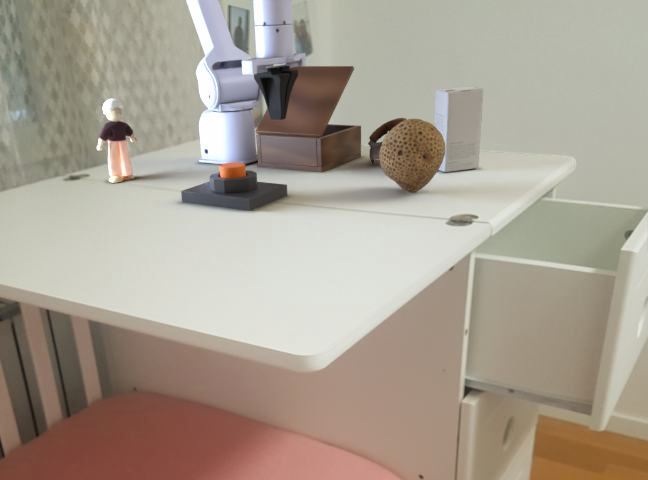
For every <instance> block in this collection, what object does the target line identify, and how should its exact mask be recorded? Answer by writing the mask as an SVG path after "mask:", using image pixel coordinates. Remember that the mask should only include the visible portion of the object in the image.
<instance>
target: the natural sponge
mask: <svg viewBox="0 0 648 480" xmlns="http://www.w3.org/2000/svg"><path fill="white" fill-rule="evenodd" d="M382 141H383V142H382ZM382 141H381V142H382V146H381V148H380V159H379V164H380V167H381V170H382V172H383V173H384V175H385V176H387V177H388V178H389V179H390V180H391V181H393V182H395V184H396V185H397V186H398V187H400V188H401V189H402V190H403V191H405V192H408V193H415V192H418V191H420V190H422V189H423V188H425V187H426V186H427V185H428V184H429V183H430V182H431V181H432V179H433V178H434V177H435V176H436V174H437V173H438V171H440V170H439V168H440V166H441V164H442V162H443V159H444V155H445V142H444V139H443V137H442V134H441V133H440V132H439V131H438V130H437V128H436V127H435V124H433V123H431V122H429V121H424V120H423V119H420V118H407V120H404V121H402V122H400V123H399V124H398V125H396V126H395V127H394V128H392V129H391V130H390V131H388V133H387V134H385V135H384V138H383V140H382Z"/></svg>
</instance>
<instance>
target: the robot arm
mask: <svg viewBox="0 0 648 480" xmlns="http://www.w3.org/2000/svg"><path fill="white" fill-rule="evenodd" d="M185 1H186V5H187V8H188V11H189V14H190V16H191V19H192V22H193V25H194V27H195V30H196V33H197V36H198V40H199V42H200V44H201V48H202V50H203V52H204V57H203V58H202V59H201V60H200V61H199V63H198V65H197V68H196V70H195V75H196V79H197V82H198V93H199V97H200V99H201V101H202V103H203V104H204V105H205V107H206V108H207V109H205V110H204V111H203V112H202V113H201V115H200V118H199V121H198V131H199V132H198V133H199V139H200V140H199V143H200V154H201V158H199V160H198V162H199V163H203V164H216V165H221V164H225V163H233V162H239V163H244V164H245V165H248V164H251V163H254V162H258V155H257V141H256V129H255V128H256V127H255V112H254V108H257V107H258V102H259V101H260V100H261V98H262V96H263V99H264V101H265V105H266V109H267V108H268V112H269V115H270V118H271V119H272V120H283V119H285V118H286V114H287V108H288V103H289V98H290V94H291V91H292V88H293V85H294V83H295V81H296V79H297V77H298V70H290V68H291V67H297V66H307V55H306V52H294V26H293V0H252V3H253V4H252V5H253V21H254V23H253V24H254V38H255V39H254V40H255V53H256V54H255V57H253V58H252V57H251V55H250V54H248V53H247V52H246V51H244V50H242V49H240V48H239V47H238V46H236V45H235V43H234V41H233V37H232V36H231V32H230V30H229V27H228V24H227V22H226V19H225V15H224V13H223V10H222V7H221V4H220V1H219V0H185Z"/></svg>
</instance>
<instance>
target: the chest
mask: <svg viewBox="0 0 648 480" xmlns="http://www.w3.org/2000/svg"><path fill="white" fill-rule="evenodd" d="M255 140H256V154H257V155H258V160H257V167H258V168H259V167H260V168H269V169H280V170H290V171H303V172H315V173H323V172H326V171H329V170H331V169H334V168H337V167H339V166H341V165H345V164H346V163H349V162H353V161H354V160H357V159H359V158H362V125H356V124H355V125H354V124H353V125H352V124H331V123H328V125H327V127H326V129H325V131H324V133H323V135H322V137H304V136H287V135H270V134H255Z"/></svg>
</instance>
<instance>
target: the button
mask: <svg viewBox="0 0 648 480" xmlns="http://www.w3.org/2000/svg"><path fill="white" fill-rule="evenodd" d="M246 167H247V166H246V164H244V163H239V162H233V163H225V164H219V172H220V178H239V177H244V176H246V170H247V168H246Z"/></svg>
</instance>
